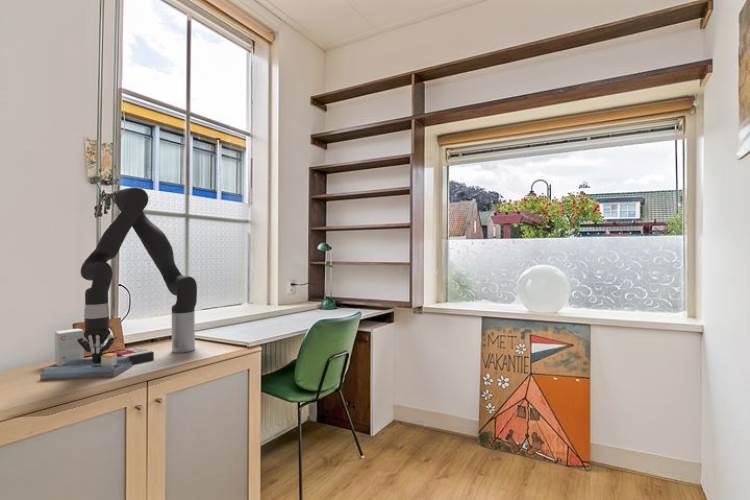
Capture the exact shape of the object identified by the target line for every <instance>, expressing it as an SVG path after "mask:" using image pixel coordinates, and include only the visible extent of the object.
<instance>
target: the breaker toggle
mask: <svg viewBox="0 0 750 500" xmlns="http://www.w3.org/2000/svg"><path fill="white" fill-rule="evenodd" d="M116 364H117V353H112V352H111V353H105V354H103V356H101V365H114V366H115V365H116Z"/></svg>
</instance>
